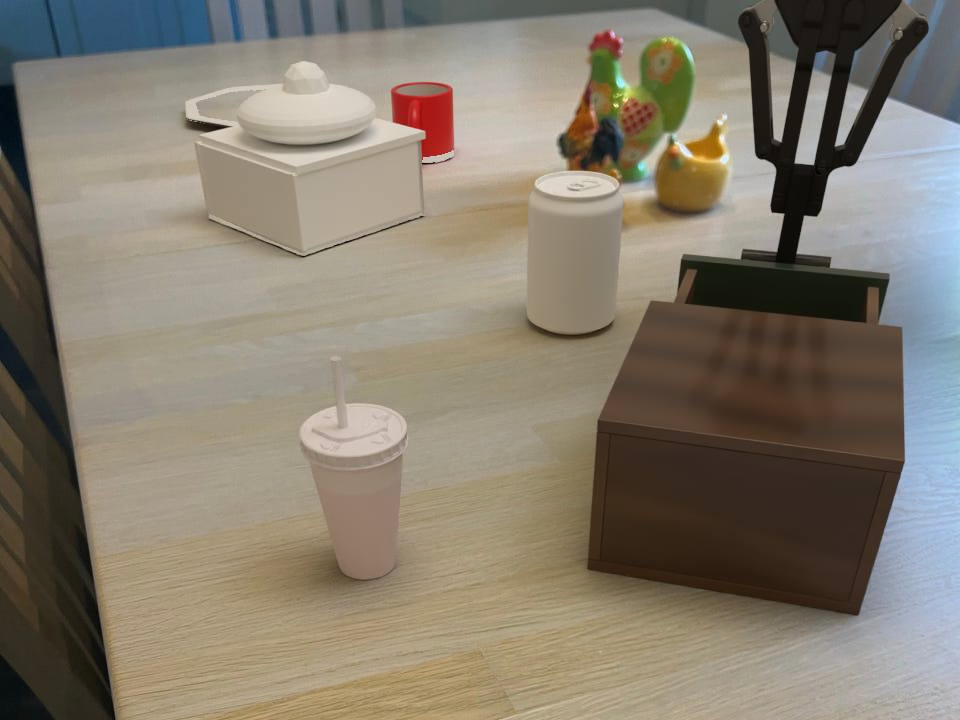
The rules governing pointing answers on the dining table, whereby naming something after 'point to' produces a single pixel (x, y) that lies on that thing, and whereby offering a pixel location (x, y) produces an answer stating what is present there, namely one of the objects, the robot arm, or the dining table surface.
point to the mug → (426, 114)
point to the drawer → (782, 286)
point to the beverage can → (573, 251)
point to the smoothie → (357, 478)
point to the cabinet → (750, 454)
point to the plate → (191, 104)
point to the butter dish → (311, 164)
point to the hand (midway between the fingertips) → (785, 255)
